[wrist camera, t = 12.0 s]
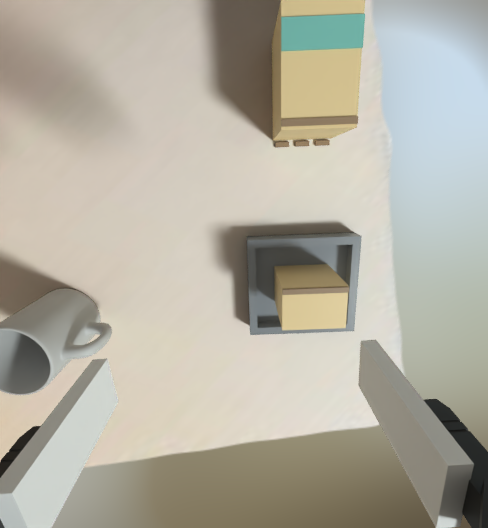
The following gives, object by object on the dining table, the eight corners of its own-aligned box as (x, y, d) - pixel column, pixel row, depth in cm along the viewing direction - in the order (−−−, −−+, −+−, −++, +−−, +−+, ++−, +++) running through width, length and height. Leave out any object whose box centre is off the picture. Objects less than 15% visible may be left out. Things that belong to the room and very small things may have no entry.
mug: (45, 341, 42) (-19, 396, 32) (34, 287, 40) (-39, 326, 29) (128, 343, 43) (91, 397, 32) (122, 288, 40) (80, 328, 30)
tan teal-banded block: (271, 42, 32) (281, -2, 24) (335, 39, 32) (366, -6, 24) (272, 147, 35) (281, 138, 27) (331, 144, 35) (356, 135, 27)
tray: (246, 236, 38) (247, 240, 36) (353, 232, 38) (361, 236, 36) (249, 325, 42) (250, 334, 39) (347, 322, 42) (354, 331, 39)
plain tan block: (274, 266, 38) (282, 288, 31) (327, 264, 38) (349, 286, 31) (274, 300, 40) (282, 331, 32) (325, 299, 40) (346, 328, 32)
